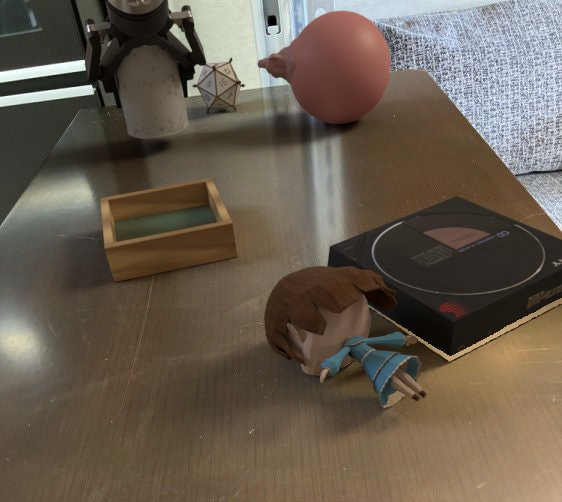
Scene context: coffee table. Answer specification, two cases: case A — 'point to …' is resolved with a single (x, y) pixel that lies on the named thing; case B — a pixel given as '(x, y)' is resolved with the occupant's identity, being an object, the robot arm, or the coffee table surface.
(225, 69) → the game die
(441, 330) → the portable cd player
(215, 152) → the coffee table surface
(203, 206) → the wooden box
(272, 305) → the figurine
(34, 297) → the coffee table surface
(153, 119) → the speckled white tin can
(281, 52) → the balloon
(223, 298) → the coffee table surface
